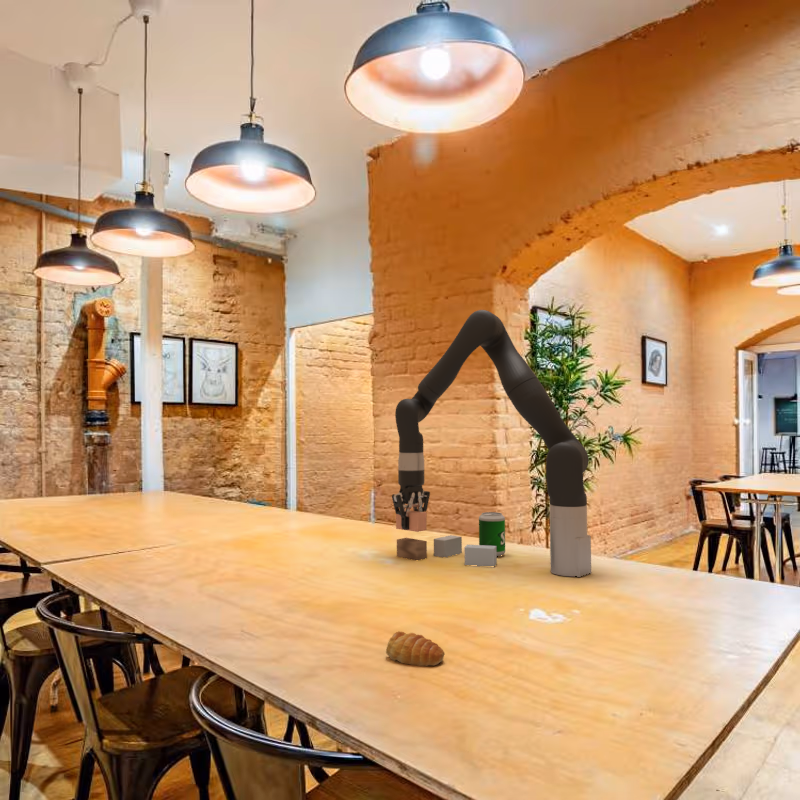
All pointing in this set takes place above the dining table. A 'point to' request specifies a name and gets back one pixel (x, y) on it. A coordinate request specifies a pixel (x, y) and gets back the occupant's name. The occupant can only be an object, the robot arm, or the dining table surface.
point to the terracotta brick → (414, 521)
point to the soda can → (492, 531)
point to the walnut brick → (411, 548)
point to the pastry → (414, 649)
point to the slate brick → (447, 546)
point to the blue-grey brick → (480, 555)
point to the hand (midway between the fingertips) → (411, 528)
